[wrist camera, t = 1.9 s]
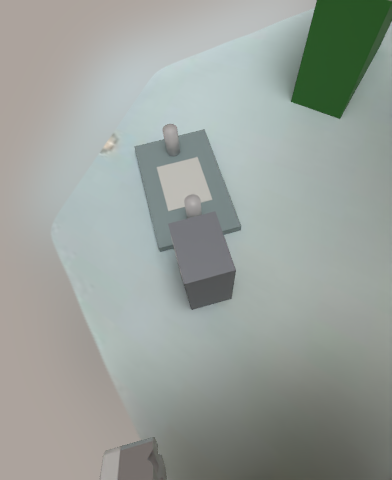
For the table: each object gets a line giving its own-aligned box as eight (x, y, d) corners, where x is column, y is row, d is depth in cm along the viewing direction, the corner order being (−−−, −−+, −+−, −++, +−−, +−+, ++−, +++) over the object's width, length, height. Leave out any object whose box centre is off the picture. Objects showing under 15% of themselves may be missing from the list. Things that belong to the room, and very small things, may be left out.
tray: (136, 151, 44) (127, 124, 40) (204, 134, 45) (203, 106, 41) (160, 251, 38) (152, 232, 33) (240, 230, 38) (243, 208, 34)
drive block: (178, 260, 37) (167, 223, 29) (216, 250, 37) (215, 211, 29) (191, 309, 34) (183, 284, 26) (231, 298, 35) (236, 269, 27)
